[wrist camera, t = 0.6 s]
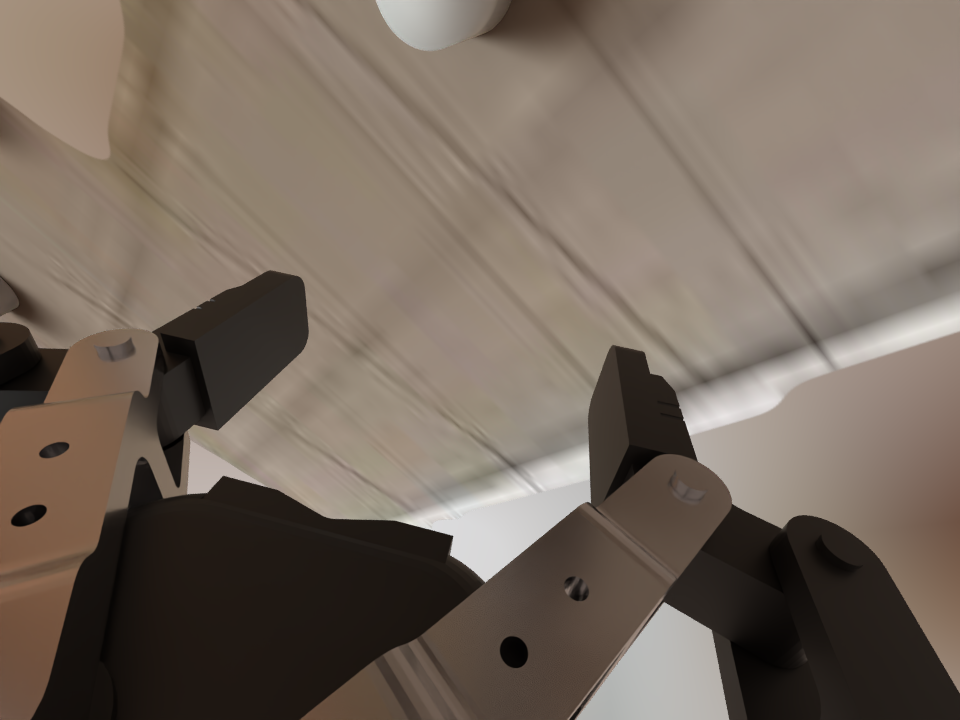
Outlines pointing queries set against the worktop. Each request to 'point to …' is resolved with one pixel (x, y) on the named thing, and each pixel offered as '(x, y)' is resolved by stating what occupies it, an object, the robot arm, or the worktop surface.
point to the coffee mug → (7, 298)
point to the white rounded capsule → (441, 20)
